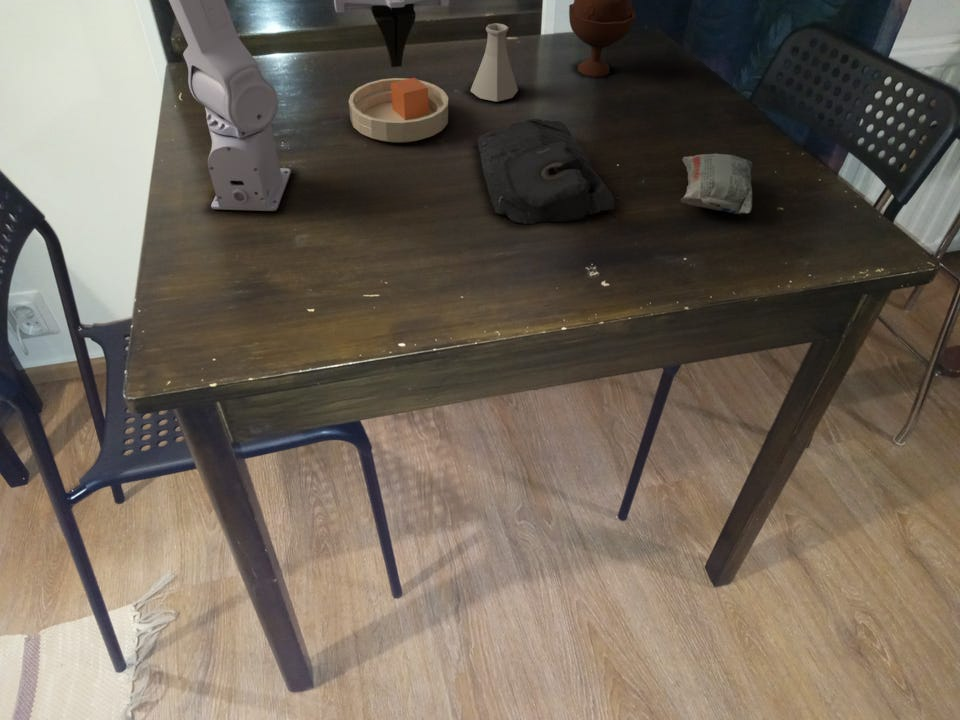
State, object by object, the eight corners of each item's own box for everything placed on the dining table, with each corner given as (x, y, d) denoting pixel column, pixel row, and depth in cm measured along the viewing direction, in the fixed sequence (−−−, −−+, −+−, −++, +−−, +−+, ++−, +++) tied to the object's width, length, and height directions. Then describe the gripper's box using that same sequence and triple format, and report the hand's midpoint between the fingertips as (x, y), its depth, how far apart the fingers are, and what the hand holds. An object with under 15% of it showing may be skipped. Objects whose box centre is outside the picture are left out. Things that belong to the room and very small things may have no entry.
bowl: (446, 147, 98) (446, 124, 95) (345, 144, 98) (342, 120, 95) (449, 102, 108) (450, 79, 105) (358, 99, 108) (356, 76, 105)
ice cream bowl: (623, 58, 122) (640, -36, 111) (626, 86, 114) (644, -13, 103) (562, 54, 122) (573, -41, 112) (561, 81, 114) (573, -18, 104)
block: (428, 114, 104) (428, 87, 101) (405, 120, 102) (403, 93, 99) (415, 103, 106) (415, 77, 103) (392, 109, 104) (390, 82, 102)
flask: (490, 78, 114) (493, 14, 107) (525, 92, 111) (531, 26, 104) (462, 92, 110) (463, 27, 103) (497, 107, 107) (501, 40, 100)
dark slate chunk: (575, 134, 102) (579, 103, 99) (619, 219, 87) (625, 186, 83) (472, 138, 100) (473, 107, 97) (498, 227, 85) (500, 193, 81)
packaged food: (676, 216, 87) (686, 182, 84) (679, 169, 96) (689, 136, 92) (746, 228, 86) (760, 194, 83) (744, 180, 94) (756, 147, 91)
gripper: (333, -35, 81) (345, 80, 91) (454, -41, 84) (453, 72, 93) (326, -53, 86) (339, 58, 95) (441, -58, 89) (442, 51, 98)
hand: (395, 63), depth 95 cm, fingers closed
